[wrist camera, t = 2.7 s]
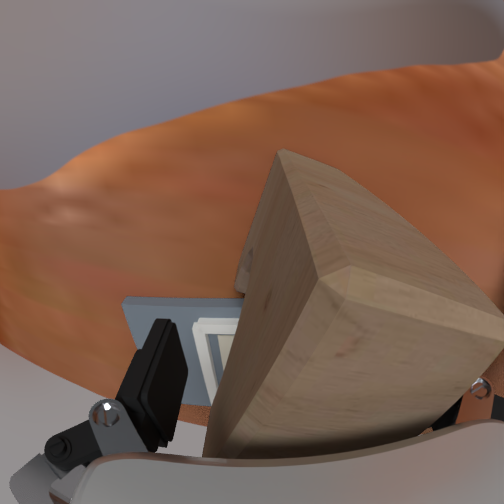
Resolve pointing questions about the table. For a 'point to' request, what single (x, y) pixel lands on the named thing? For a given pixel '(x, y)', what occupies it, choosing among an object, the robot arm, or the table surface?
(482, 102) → the table surface
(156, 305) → the board
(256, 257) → the decorative block
